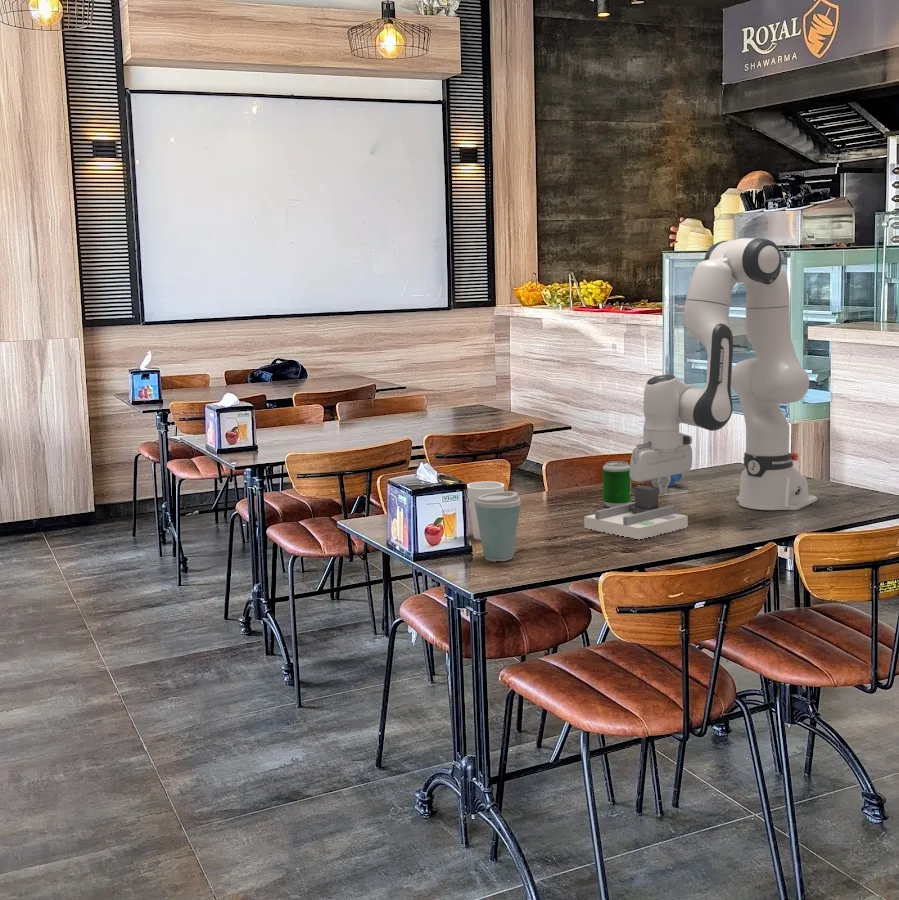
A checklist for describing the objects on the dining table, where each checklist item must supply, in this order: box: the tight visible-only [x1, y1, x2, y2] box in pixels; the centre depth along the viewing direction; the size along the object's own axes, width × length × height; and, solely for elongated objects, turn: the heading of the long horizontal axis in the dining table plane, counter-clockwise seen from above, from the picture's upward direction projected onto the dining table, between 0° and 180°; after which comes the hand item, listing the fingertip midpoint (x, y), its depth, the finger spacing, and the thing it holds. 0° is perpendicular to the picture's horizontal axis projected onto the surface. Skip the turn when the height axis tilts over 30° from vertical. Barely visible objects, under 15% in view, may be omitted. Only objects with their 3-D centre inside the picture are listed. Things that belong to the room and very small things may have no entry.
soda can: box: [602, 460, 632, 508], centre depth 300 cm, size 8×8×12 cm
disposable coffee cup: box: [474, 490, 522, 562], centre depth 251 cm, size 11×11×15 cm
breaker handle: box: [629, 485, 663, 513], centre depth 278 cm, size 5×7×6 cm
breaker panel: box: [583, 501, 689, 541], centre depth 276 cm, size 18×18×5 cm
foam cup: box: [466, 480, 505, 541], centre depth 271 cm, size 10×9×13 cm
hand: (660, 493), depth 282 cm, fingers closed
